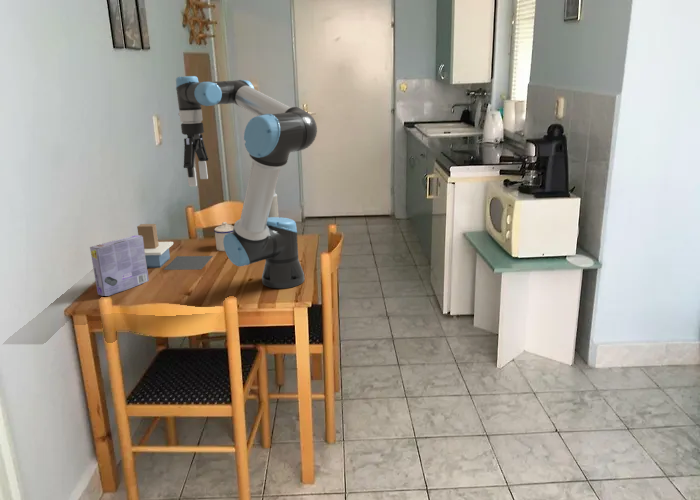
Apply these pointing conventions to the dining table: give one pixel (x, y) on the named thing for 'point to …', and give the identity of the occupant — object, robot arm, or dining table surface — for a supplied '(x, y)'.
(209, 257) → the mat
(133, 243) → the cake pan box
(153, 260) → the blue open box
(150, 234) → the lid
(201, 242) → the dining table surface
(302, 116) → the robot arm
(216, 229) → the teacup with lid
